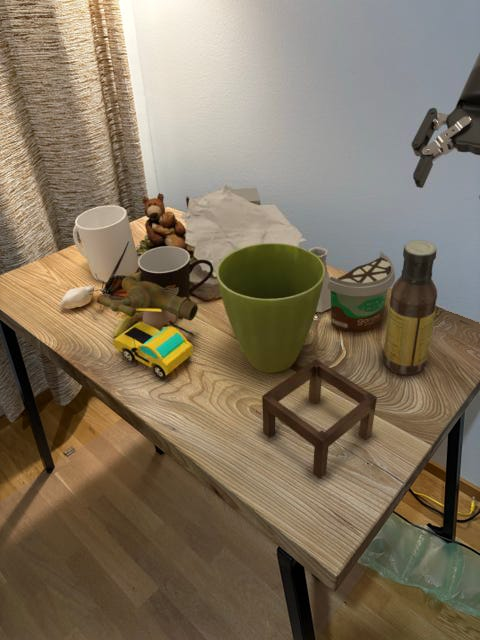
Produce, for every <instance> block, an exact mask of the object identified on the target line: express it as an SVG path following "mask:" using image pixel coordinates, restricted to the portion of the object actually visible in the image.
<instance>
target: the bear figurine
mask: <svg viewBox="0 0 480 640" xmlns="http://www.w3.org/2000/svg"><path fill="white" fill-rule="evenodd" d="M164 199H165V196H164V194H163V193H160V192H159V193H158V194H157V197H153V198H148V196H145V195H144V196H143V197H142V199H141V203H142V204H144V206H143V207H144V215H145V216H146V218H148V219H147V220H146V221H145V222H144V227H145V231H146V235H145V236H144V239H141V240H140V241H139V244H137V246H136V251H137V255H138V259H139V257H140V256H141V255H142V254H143V253H145V252H147V251H148V250H151V249H154V248H157V247H164V246H173V247H179V248H182V249H184V250H186V251H187V252H188V253H189V255H190V264H192V263H193V262H195V261H197V260H198V259H196V258H195V257H194V250H195V247H194V246H191V245H188V244H187V243H185V240H186V226H185V225H184V224H183V223H182V222H181V221H179V220H178V219H177V218H176V216H175V213H173V212H171V211H166V208H165V204H164Z"/></svg>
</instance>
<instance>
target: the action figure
mask: <svg viewBox="0 0 480 640" xmlns="http://www.w3.org/2000/svg"><path fill="white" fill-rule="evenodd" d="M122 288H123V290H124V291H125V292H126V293H127V296H125V297H124V298H123V297H122V299H120V300H119V299H114V300H113V299H111V298H108V297H105V296H104V295H102V294H98V296H97V297H96V303H97V304H100V305H101V304H102V305H103V306H104V305H105V307H109V308H110V309H111V311H112V312H115V313H116V312H117V313H118V311H121V312H120V313H123V315H124V314H126V315H128V316H130V317H133V316H134V315H135V314H136V312H137V313H140V312H144V311H139V310H138V311H136V309H135V308H145V309H164V310H167V311H169V313H171V314H174V315H176V319H179V320H181V321H182V320H183V319H184V320H187V321H189V322H191V321H193V320H194V319H195V317H196V316H197V313H198V310H199V307H198V304H197V303H195V302H194V301H193V302H192V301H191V299H190V298H189V299H188V298H186V297H184V298H181V297H178V296H176V295H174V296H172V295H170V294H168V293H167V292H166V290H165V289H164V288H163V287H161V286H159V285H157V284H155V283H152V282H147V281H143V278H142V275H141V272H140V271H138V272H135V273H134V274H132V275H129V276H127V277H125V278H124V279H123V281H122ZM102 305H101V306H102Z"/></svg>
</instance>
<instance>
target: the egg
mask: <svg viewBox="0 0 480 640" xmlns="http://www.w3.org/2000/svg"><path fill="white" fill-rule="evenodd" d="M161 311H162V312H161ZM161 311H144V313H143V316H142V322H144V323H146V324H148V325H150V326H152V327H154V328H156V329H158V330H159V331H161V330H162V328H163V325H165V324H166V325H168V326H169V327H173V325H170V323H169V321H172V322H173V323H175V322H176V320H177V318H176V315H174V314H171V313H169V311H167V310H164V309H161Z"/></svg>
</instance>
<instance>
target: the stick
mask: <svg viewBox="0 0 480 640" xmlns="http://www.w3.org/2000/svg"><path fill="white" fill-rule="evenodd" d="M169 323H170V325H172V327H174V328H176V329H177V330H179V331H182V332H185V333H187V334H188V335H189V336H192V337H195V334H194V332H193V331H189V330H187V329H185V328H184V327H182V326H180V325H179V326H178V324H175V322H174V323H173V322H172V321H169Z"/></svg>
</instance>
